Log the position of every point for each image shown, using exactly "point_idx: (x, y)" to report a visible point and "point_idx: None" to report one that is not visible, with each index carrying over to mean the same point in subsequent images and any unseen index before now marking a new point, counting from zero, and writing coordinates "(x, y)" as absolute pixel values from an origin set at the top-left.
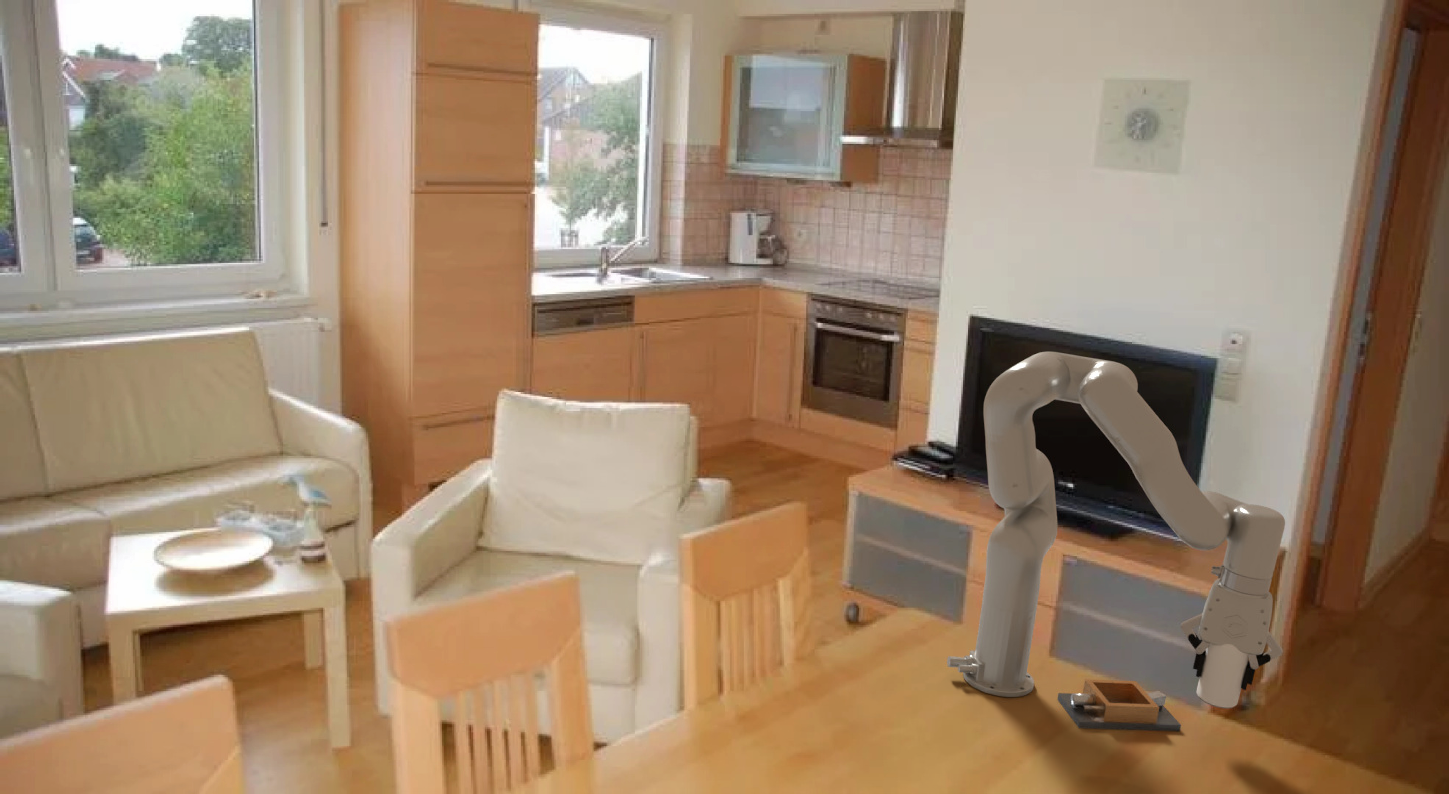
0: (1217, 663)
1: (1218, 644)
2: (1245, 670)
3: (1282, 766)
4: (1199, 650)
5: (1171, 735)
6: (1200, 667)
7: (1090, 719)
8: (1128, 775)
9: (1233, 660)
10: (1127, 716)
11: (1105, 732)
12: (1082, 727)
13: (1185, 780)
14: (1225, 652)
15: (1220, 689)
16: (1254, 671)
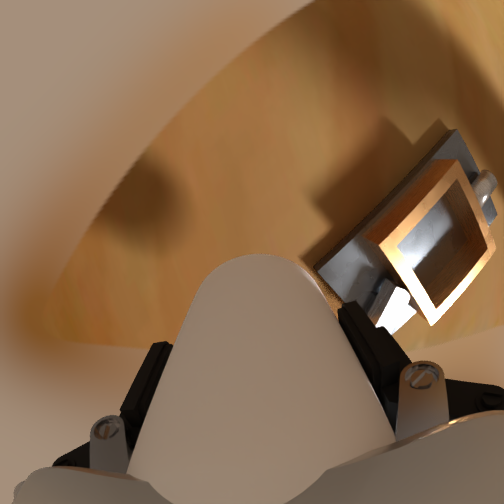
0: (289, 347)
1: (351, 469)
2: None
3: (114, 282)
4: (420, 381)
5: (322, 235)
6: (362, 324)
7: (450, 151)
8: (326, 17)
9: (182, 401)
10: (414, 191)
11: (418, 146)
12: (446, 133)
13: (236, 65)
14: (254, 430)
15: (236, 280)
16: (122, 415)
